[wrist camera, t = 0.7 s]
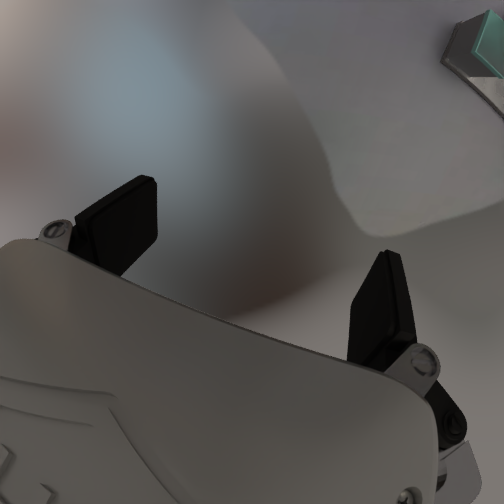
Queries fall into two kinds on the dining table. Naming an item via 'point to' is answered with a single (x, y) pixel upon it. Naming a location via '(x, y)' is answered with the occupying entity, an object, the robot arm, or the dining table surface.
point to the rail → (478, 80)
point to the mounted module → (480, 46)
